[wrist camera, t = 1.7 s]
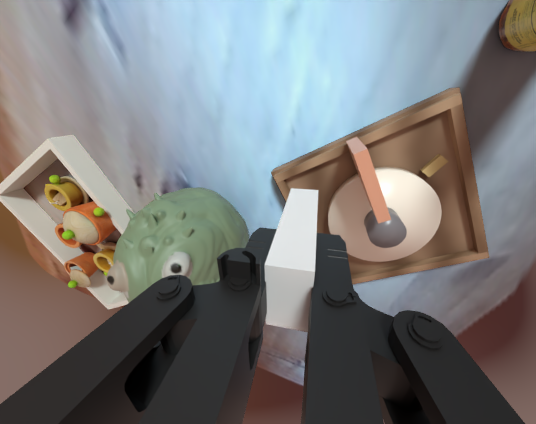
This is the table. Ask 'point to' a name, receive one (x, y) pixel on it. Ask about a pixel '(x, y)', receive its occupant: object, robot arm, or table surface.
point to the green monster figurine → (176, 240)
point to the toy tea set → (81, 228)
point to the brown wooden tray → (416, 161)
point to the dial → (383, 210)
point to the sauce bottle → (519, 25)
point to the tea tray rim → (43, 224)
